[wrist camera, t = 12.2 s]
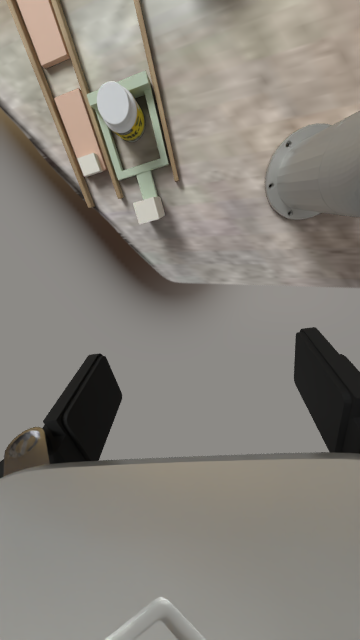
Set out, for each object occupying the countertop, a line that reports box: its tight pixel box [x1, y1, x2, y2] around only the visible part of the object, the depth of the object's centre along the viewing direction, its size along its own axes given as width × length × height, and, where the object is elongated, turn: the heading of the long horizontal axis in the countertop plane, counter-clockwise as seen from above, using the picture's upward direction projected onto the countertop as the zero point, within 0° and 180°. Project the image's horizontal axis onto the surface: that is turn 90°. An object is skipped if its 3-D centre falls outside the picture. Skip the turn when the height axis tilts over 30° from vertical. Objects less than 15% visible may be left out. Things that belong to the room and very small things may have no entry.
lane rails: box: [6, 0, 179, 208], centre depth 32 cm, size 16×28×2 cm, turn 14°
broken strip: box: [17, 0, 108, 177], centre depth 32 cm, size 4×22×2 cm, turn 14°
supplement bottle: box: [97, 81, 145, 142], centre depth 31 cm, size 5×5×8 cm
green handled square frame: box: [86, 71, 169, 224], centre depth 34 cm, size 9×17×7 cm, turn 14°
